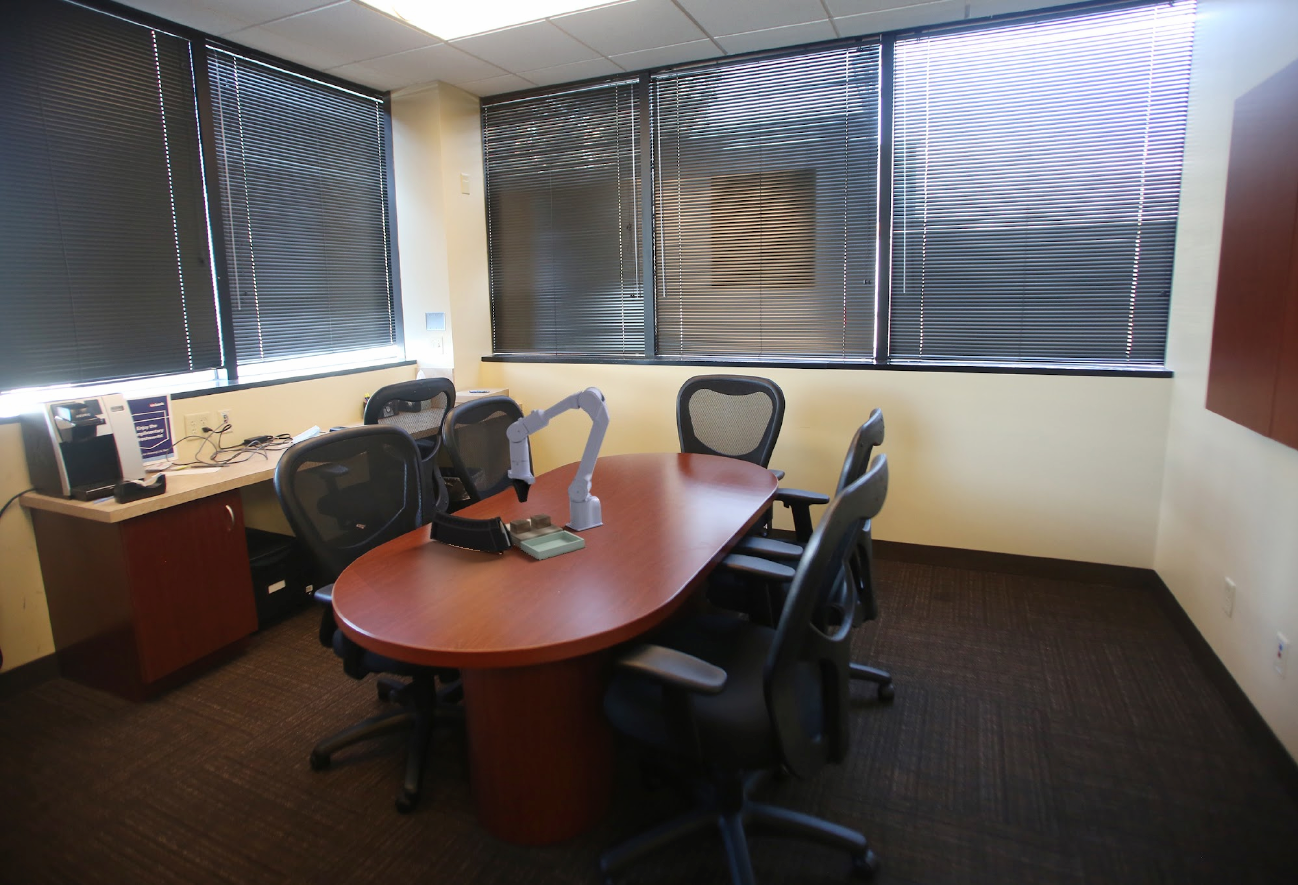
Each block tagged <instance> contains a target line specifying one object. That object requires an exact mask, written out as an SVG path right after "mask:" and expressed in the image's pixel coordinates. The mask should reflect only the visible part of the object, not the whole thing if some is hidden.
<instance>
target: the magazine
mask: <svg viewBox="0 0 1298 885" xmlns="http://www.w3.org/2000/svg"><path fill="white" fill-rule="evenodd" d="M429 539H430V540H433V541H436V542H439V543H441V542H442V544H444V545H447V544H451V545H454V546H459V547H463V548H469V549H473V550H480V551H484V552H483V553H486V552H487V553H498V554H499V553H502V552H503V553H504V552H506V551H510V550H512V548H513V547H514V546H515V545H514V543H513V540H512V537H511V533H510V531H509V530H508V529H507V527H506V523H505V522H503V520H502V517H501V516H499V515H497V516H496V517H494V518H493V517H491V518H486V519H485V518H484V519H483V518H481V519H480V518H478V519H477V518H468V517H464V516H463V517H462V516H459V515H454V514H450V513H447V512H445V511H443V510H441V509H439V508H437V509H436V510H434V514H433V515H432V518H431V526H430V534H429ZM488 551H489V552H488Z"/></svg>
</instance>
